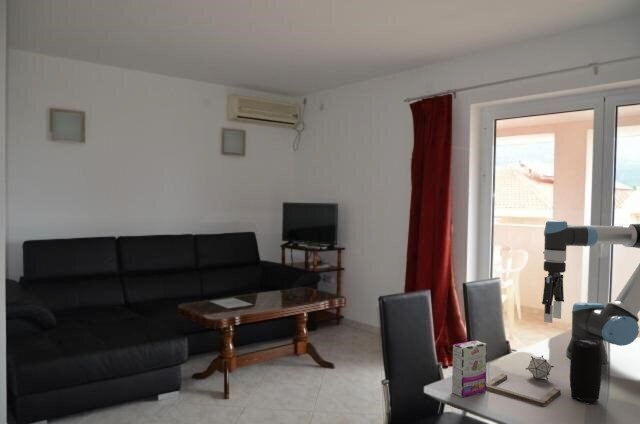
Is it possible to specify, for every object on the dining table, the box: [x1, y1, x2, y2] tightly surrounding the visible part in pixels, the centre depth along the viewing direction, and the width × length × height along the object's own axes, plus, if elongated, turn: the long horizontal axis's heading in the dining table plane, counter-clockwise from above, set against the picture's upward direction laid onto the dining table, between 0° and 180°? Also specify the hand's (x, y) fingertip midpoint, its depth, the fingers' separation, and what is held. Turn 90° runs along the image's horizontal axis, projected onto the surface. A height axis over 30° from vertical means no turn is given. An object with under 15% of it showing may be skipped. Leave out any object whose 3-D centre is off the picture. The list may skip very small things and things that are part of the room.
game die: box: [525, 354, 555, 381], centre depth 175 cm, size 9×8×10 cm
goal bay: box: [486, 373, 561, 407], centre depth 163 cm, size 16×20×1 cm
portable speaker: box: [569, 337, 603, 405], centre depth 157 cm, size 9×9×20 cm
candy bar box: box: [451, 339, 488, 399], centre depth 160 cm, size 11×5×16 cm, turn 119°
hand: (552, 320), depth 184 cm, fingers open, 9 cm apart
